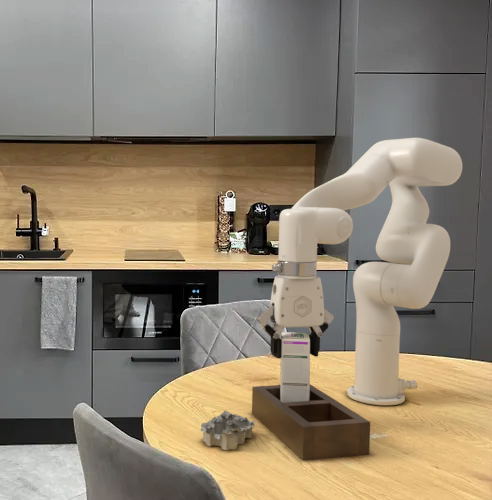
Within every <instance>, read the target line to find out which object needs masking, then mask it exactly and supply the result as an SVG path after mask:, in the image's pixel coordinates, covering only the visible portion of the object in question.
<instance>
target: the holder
mask: <svg viewBox="0 0 492 500" xmlns="http://www.w3.org/2000/svg"><path fill="white" fill-rule="evenodd" d="M280 386H281V384H275V385H259V386H258V385H257V386H252V391H251V392H252V393H251V414H252V416H253V417H254V418H255V419H257V420H258V421H259V422H260V423H261V424H262V425H263V426H265V428H267V429H268V430H269V431H270V432H271V433H272V434H273V435H274V436H275V437H277V438H278V440H280V441H281V442H282V443H283V444H284V445H286V446H287V447H288V449H290V450H291V451H292V452H293V453H294V454H295V455H296V456H298V458H300V459H301V460H302V461H308V460H317V459H319V460H320V459H331V458H343V457H351V456H353V457H354V456H366V455H370V451H371V450H370V448H371V447H370V445H371V421H370V420H368V419H367V418H365V417H363V416H361V415H360V414H359V413H357V412H355V411H353V410H352V409H350V408H349V407H347V406H346V405H344V404H342V403H341V402H339V401H338V400H336V399H334V398H333V397H331V396H330V395H328V394H327V393H325V392H324V391H322V390H320V389H318V388H317V387H315V386H314V385H312V384H311V383H310V394H309V401H301V402H286V403H283V402H281V400H280Z"/></svg>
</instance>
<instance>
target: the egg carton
mask: <svg viewBox="0 0 492 500" xmlns="http://www.w3.org/2000/svg"><path fill="white" fill-rule="evenodd" d="M255 423H256V421H255V420H251V421H250V420H249V419H248V417H247V416H245V417H243V416H241V415H238V414H236V413H234V414H233V413H232V412H230V411H227V410H223V412H222V413H220V414H219V415H217V416H213V418H212V419H210V420H207V422H202V423H201V425H200V431H201V432H202V441H203V442H204V443H205V445H206V446H208V447H212V446H218V447H221V450H222V451H223V450H224V451H228V450H237V449H238V445H243V444H244V443H245V441H246V439H252V438H253V436H254V435H253V429H254V427H255V425H256V424H255Z"/></svg>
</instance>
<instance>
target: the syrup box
mask: <svg viewBox="0 0 492 500" xmlns="http://www.w3.org/2000/svg"><path fill="white" fill-rule="evenodd" d="M309 334H310V333H307V332H298V331H288V332H287V331H286V332H283V331H282V333H281V335H280V339H281V340H282V354H281V358H280V385H281V386H280V400H281V402H283V403H286V402H301V401H309V394H310V384H311V354H310V338H309Z"/></svg>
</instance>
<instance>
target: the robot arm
mask: <svg viewBox="0 0 492 500" xmlns="http://www.w3.org/2000/svg"><path fill="white" fill-rule="evenodd" d="M462 172H463V161H462V158H461V156H460V154H459V152H458V151H456V150H455V149H454V148H453V147H450V146H447V145H444V144H442V143H439V142H436V141H433V140H430V139H427V138H424V137H405V138H394V139H385V140H380V141H377V142H376V143H375V144H373V145H371V147H369V149H368V150H366V151H365V152H364V154H363V155H362V156H361V157H360V158H359V159H357V161H355V163H354V164H353V165H352V166H351V167H350V168H349V169H348V170H347V171H346V172H345V173H343V174H341V175H339V176H337V177H335V178H333V179H331V180H329V181H326V182H325V183H323V184H321V185H319V186H316V187H315V188H313V189H311V190H309V191H308V192H307V193H305V194H304V195H303V196H302V197H301V198H300V199H299V200H297V202H296V203H295V204H294V205H293V206H292V207H291V208H286V209H283V210H282V211H280V213H279V218H278V224H279V225H278V256H277V257H278V258H277V263H276V264H272V266H271V271H272V272H276V273H277V275H275V276H274V280H273V284H272V288H271V293H270V294H271V295H270V303H269V304H270V305H269V307H268V308H267V309H266V310H264V312H262V313H261V314H260V315H258V317H256V320H257V321H256V322H258V323H259V325H260V326H261V327H262V329H263V330H264V332H266V333H267V334H268V336H269V337H270V347H269V348H270V354H271V355H272V357H274V358H276V359H281V354H282V340H281V335H282V332H283V331H284V330H285V328H291V329H292V328H308V329H309V331H310V333H308V334H309V338H310V356H313V357H315V358H316V357H319V352H320V351H321V338H322V337H323V336H324V333H325V332H326V331H327V330H328V328H329V326H330V325H331V324H332V322H333V321H334V319H335V316H334V314H332V313H331V312H330V311H328V310H327V309H326V308H325V304H324V303H325V301H324V291H323V284H322V279H321V277H320V276H317V266H318V265H317V263H318V244H322V245H338V244H339V245H340V244H341V243H344V242H346V241H347V240H348V239H349V238H350V237H351V236H352V233H353V230H354V221H353V218H352V216H351V215H350V214H349V213H348V212H347V210H352V209H356V208H359V207H363V206H366V205H368V204H370V203H372V202H374V201H375V200H376V199H377V198H378V197H379V195H380V194H382V192H383V191H385V189H386V188H387V187H388V186H389V190H390V194H391V207H390V208H389V209H390V210H389V212H388V214H387V217H386V219H385V221H384V223H383V225H382V227H381V229H380V231H379V235H378V237H377V239H376V243H375V253H376V255H377V256H378V257H379V258H380V259H381V260H382V261H368V262H364V263H362V264H360V265H359V266H358V267H357V268H356V270H355V271H354V273H353V277H352V287H353V288H352V289H353V294H354V299H355V309H356V311H355V313H356V315H355V316H356V318H355V320H356V321H355V322H356V323H355V351H354V353H355V354H354V384H353V385H350V386H349V387H348V388H347V389H346V395H347V396H348V397H349V398H350V399H352V400H354V401H357V402H359V403H363V404H368V405H374V406H396V405H397V406H398V405H400V404H403V403H404V402H405V401H406V395H405V393H403V391H405V390H416V389H417V388H418V382H417V381H416V380H413V379H412V380H405V379H404V378H399V374H400V373H399V372H400V371H399V370H400V346H401V345H400V343H401V320H400V318H399V315H398V312H397V311H396V308H395V307H397V308H398V307H399V308H403V309H405V308H406V309H411V310H412V309H413V310H417V309H418V310H420V309H423V308H425V307H426V306H428V305H429V304H430V302H431V300H432V299H433V297H434V295H435V292H436V290H437V287H438V285H439V282H440V281H441V278H442V276H443V273H444V270H445V268H446V266H447V263H448V261H449V257H450V252H451V237H450V235H449V232H448V231H447V230H446V229H445V228H444V227H443V226H441V225H438V224H435V223H427V221H428V219H429V217H430V207H429V204H428V201H427V199H426V198H425V196H424V195H423V194H422V192H421V190H420V187H447V186H451V185H453V184H455V183H456V182H457V181H458V180H459V179H460V177H461V175H462ZM268 320H270V322H271V323H272V325H270V324H269V322H268Z"/></svg>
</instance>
